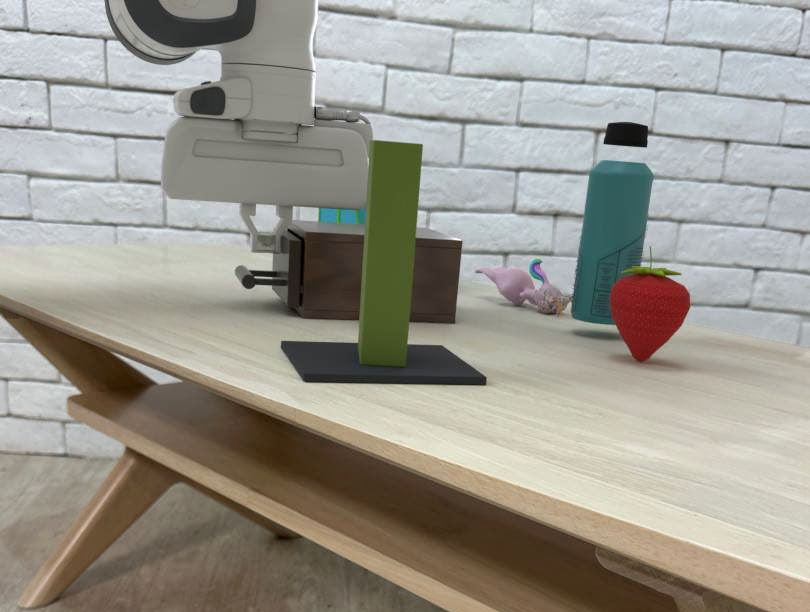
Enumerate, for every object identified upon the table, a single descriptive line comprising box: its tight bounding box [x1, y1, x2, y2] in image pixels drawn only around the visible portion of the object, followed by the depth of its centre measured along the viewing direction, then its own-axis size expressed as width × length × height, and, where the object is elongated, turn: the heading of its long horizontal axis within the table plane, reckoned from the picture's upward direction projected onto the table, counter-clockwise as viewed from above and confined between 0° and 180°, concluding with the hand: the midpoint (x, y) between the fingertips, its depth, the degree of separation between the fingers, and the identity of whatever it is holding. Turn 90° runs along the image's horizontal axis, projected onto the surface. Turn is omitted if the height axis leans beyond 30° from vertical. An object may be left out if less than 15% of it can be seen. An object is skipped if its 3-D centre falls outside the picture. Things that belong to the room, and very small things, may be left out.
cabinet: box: [286, 219, 464, 324], centre depth 103 cm, size 16×13×8 cm
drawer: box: [234, 227, 305, 308], centre depth 102 cm, size 19×11×6 cm, turn 105°
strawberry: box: [609, 245, 691, 362], centre depth 87 cm, size 6×8×10 cm
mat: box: [280, 340, 488, 386], centre depth 79 cm, size 14×12×1 cm
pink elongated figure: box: [474, 258, 573, 317], centre depth 115 cm, size 6×6×15 cm
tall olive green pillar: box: [357, 139, 424, 367], centre depth 76 cm, size 4×6×16 cm, turn 5°
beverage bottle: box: [569, 121, 655, 326], centre depth 98 cm, size 6×7×20 cm
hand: (265, 252), depth 100 cm, fingers closed
